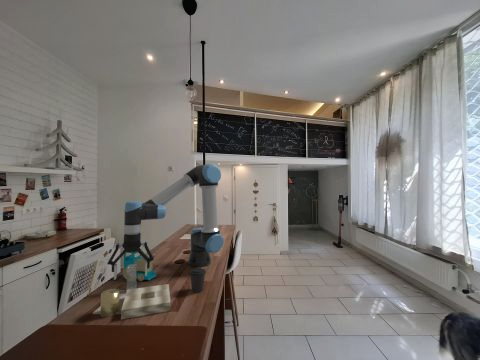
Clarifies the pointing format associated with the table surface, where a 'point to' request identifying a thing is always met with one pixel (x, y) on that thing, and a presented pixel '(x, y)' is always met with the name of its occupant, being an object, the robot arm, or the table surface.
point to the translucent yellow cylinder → (109, 302)
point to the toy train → (138, 266)
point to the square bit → (131, 276)
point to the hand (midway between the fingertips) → (130, 276)
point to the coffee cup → (197, 279)
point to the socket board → (146, 301)
